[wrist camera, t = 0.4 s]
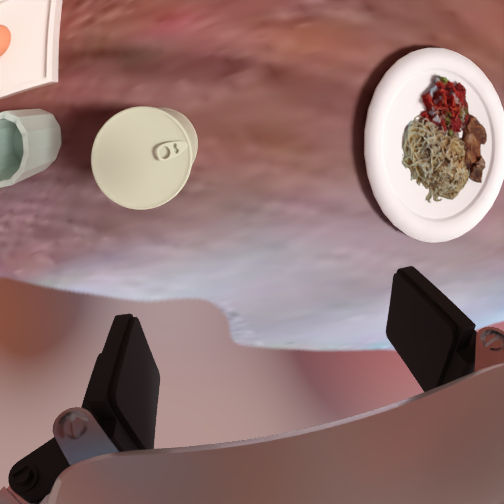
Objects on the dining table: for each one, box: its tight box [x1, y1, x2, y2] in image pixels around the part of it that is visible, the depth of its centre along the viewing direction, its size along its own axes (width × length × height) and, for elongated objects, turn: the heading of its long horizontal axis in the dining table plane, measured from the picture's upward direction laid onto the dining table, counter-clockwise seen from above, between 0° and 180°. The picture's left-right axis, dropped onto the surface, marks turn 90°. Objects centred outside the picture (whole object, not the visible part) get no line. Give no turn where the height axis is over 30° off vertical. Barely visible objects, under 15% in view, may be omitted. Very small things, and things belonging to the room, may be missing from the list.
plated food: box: [364, 48, 504, 243], centre depth 39 cm, size 30×30×3 cm
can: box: [91, 106, 198, 210], centre depth 30 cm, size 9×9×12 cm
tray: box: [0, 0, 62, 100], centre depth 25 cm, size 16×18×2 cm
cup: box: [0, 109, 62, 187], centre depth 29 cm, size 8×8×8 cm
